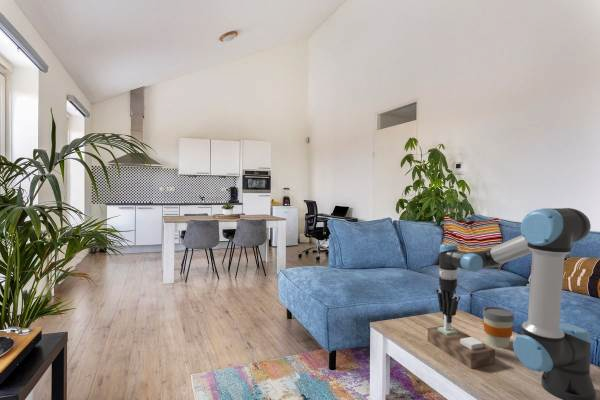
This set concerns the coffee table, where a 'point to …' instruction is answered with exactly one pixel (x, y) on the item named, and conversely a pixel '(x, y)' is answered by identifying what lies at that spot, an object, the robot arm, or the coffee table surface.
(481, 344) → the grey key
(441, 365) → the coffee table surface
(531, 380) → the coffee table surface
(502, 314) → the reusable coffee cup
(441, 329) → the sage key
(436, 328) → the key panel
